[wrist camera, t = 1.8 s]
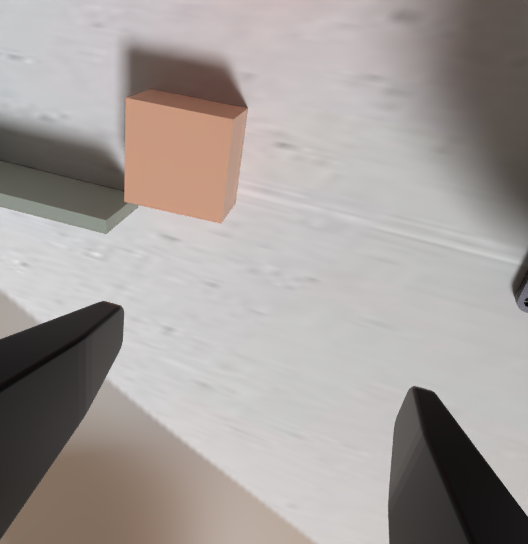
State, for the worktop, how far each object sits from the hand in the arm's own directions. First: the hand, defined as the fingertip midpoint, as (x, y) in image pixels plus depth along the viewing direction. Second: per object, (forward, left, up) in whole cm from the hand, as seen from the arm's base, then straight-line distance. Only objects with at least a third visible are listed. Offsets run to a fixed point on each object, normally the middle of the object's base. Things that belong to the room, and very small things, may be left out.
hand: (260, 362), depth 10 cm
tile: (0, +5, -12) cm, 13 cm away
